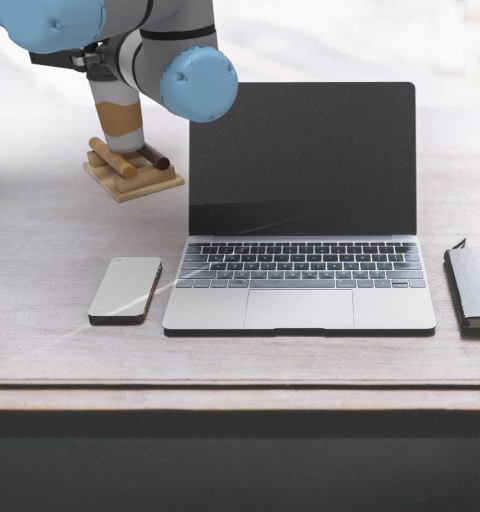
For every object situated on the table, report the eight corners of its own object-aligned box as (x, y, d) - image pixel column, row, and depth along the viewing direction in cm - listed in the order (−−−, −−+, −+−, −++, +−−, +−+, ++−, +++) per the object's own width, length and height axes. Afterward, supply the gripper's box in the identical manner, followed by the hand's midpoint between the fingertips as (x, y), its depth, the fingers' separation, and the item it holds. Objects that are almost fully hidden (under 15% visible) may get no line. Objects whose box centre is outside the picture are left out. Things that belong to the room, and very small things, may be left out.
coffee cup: (158, 139, 113) (143, 55, 105) (137, 156, 106) (120, 67, 98) (116, 137, 114) (99, 54, 107) (93, 154, 107) (73, 66, 100)
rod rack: (184, 183, 109) (180, 153, 106) (118, 202, 103) (111, 171, 100) (143, 152, 123) (138, 125, 120) (83, 167, 117) (76, 139, 114)
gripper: (46, 114, 68) (3, 74, 83) (245, 73, 80) (176, 45, 95) (28, 43, 64) (-15, 15, 79) (239, 12, 76) (168, -8, 91)
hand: (89, 31), depth 87 cm, fingers open, 13 cm apart
